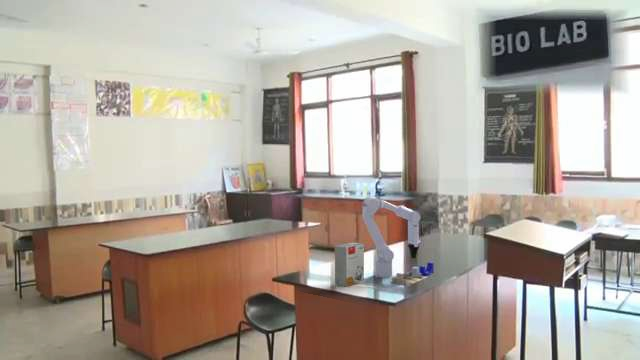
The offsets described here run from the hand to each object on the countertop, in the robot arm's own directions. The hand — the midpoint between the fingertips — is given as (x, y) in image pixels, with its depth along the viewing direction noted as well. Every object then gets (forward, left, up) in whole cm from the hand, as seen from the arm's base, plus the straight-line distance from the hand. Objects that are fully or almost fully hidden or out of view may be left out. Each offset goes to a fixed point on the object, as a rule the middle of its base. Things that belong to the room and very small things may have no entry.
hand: (413, 257), depth 271 cm
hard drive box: (-36, -14, -10) cm, 40 cm away
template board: (-5, -14, -9) cm, 18 cm away
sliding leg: (0, -9, -8) cm, 12 cm away
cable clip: (+7, -1, -10) cm, 12 cm away
